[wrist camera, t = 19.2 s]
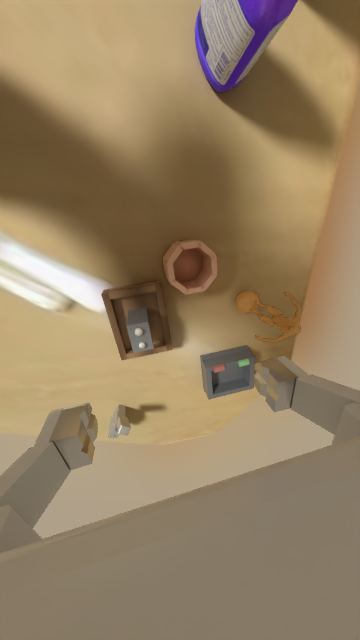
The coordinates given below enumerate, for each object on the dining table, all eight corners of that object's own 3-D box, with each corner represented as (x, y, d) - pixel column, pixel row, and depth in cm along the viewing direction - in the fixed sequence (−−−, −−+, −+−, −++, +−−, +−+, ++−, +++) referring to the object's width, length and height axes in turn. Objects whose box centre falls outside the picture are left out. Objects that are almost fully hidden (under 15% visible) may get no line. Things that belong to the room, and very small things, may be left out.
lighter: (118, 420, 43) (114, 457, 36) (110, 418, 42) (104, 456, 35) (132, 396, 41) (130, 430, 34) (124, 393, 40) (120, 428, 33)
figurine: (246, 273, 35) (294, 291, 24) (270, 287, 37) (325, 309, 26) (222, 313, 37) (256, 346, 26) (246, 325, 39) (287, 359, 29)
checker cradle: (203, 389, 44) (209, 403, 40) (200, 355, 40) (206, 368, 36) (245, 378, 45) (255, 391, 41) (246, 345, 41) (256, 356, 38)
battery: (134, 334, 34) (133, 354, 29) (128, 310, 33) (126, 327, 27) (151, 331, 35) (154, 350, 29) (146, 307, 33) (148, 322, 27)
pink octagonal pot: (167, 288, 33) (172, 297, 28) (160, 244, 30) (164, 246, 26) (206, 281, 34) (218, 288, 29) (203, 237, 31) (215, 238, 26)
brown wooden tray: (122, 352, 37) (121, 360, 34) (104, 289, 31) (101, 294, 29) (170, 342, 38) (172, 349, 35) (159, 280, 33) (161, 283, 30)
